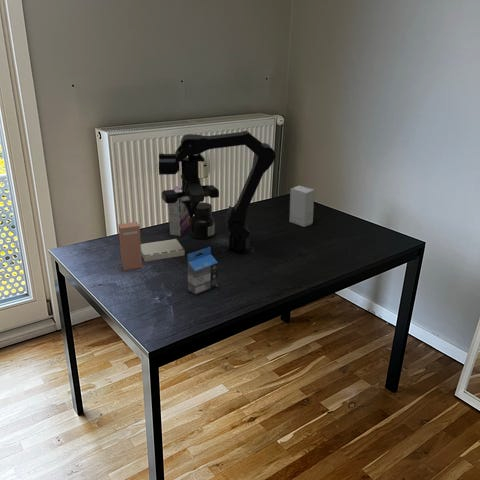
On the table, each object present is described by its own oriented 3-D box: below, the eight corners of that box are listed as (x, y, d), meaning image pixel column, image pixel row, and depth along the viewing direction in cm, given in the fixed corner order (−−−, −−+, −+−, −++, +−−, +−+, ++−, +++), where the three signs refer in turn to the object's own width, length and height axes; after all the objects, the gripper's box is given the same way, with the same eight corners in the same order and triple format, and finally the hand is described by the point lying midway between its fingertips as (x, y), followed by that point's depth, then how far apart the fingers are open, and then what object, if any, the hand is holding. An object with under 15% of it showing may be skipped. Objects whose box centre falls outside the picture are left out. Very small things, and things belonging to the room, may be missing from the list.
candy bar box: (177, 224, 192) (176, 185, 185) (189, 225, 191) (189, 186, 184) (168, 235, 182) (167, 194, 175) (181, 236, 181) (180, 195, 174)
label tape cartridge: (195, 295, 143) (194, 258, 138) (187, 290, 146) (186, 254, 140) (218, 286, 148) (218, 250, 143) (210, 281, 151) (210, 246, 146)
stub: (139, 262, 161) (137, 221, 154) (142, 267, 158) (139, 225, 151) (121, 265, 158) (118, 224, 152) (123, 270, 155) (120, 228, 149)
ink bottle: (215, 239, 179) (215, 210, 174) (191, 240, 178) (191, 210, 173) (213, 229, 188) (213, 200, 183) (190, 230, 187) (190, 201, 182)
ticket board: (176, 243, 175) (176, 238, 174) (184, 255, 167) (184, 249, 166) (138, 249, 170) (138, 244, 169) (144, 261, 162) (144, 256, 161)
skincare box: (312, 224, 196) (316, 189, 190) (303, 227, 192) (306, 192, 186) (297, 218, 201) (299, 184, 195) (287, 221, 198) (290, 187, 191)
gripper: (169, 184, 148) (171, 230, 154) (225, 178, 155) (224, 222, 161) (160, 174, 157) (162, 217, 164) (213, 168, 164) (213, 211, 171)
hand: (191, 217), depth 165 cm, fingers closed
